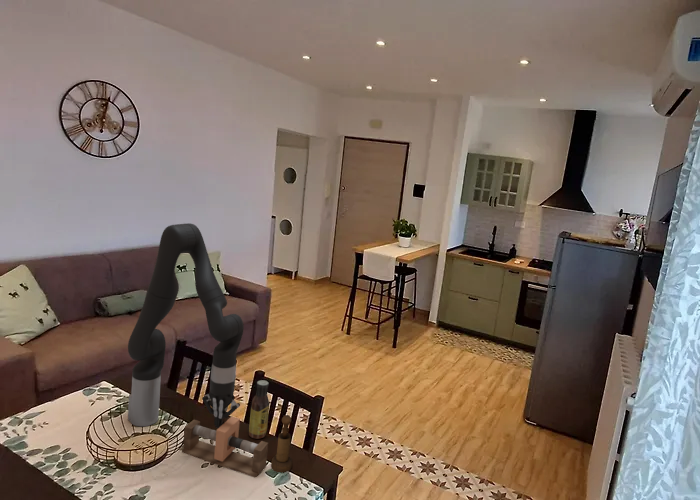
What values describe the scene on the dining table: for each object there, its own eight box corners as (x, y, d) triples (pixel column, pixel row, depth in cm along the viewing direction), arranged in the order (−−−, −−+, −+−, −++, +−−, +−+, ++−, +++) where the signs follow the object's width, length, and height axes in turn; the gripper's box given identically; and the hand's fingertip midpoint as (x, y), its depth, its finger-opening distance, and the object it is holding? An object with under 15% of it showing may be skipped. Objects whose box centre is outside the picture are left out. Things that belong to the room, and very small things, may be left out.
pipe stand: (181, 452, 156) (182, 428, 154) (194, 441, 162) (195, 417, 161) (256, 478, 148) (259, 453, 147) (267, 465, 155) (269, 441, 153)
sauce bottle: (262, 441, 167) (267, 389, 163) (245, 437, 168) (250, 385, 164) (269, 431, 173) (274, 380, 169) (252, 427, 174) (257, 377, 170)
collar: (214, 458, 151) (216, 430, 149) (229, 443, 159) (231, 416, 157) (222, 461, 150) (225, 432, 148) (237, 446, 158) (239, 418, 157)
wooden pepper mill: (274, 474, 151) (280, 423, 147) (268, 462, 156) (273, 412, 153) (294, 470, 154) (300, 420, 150) (287, 458, 160) (293, 409, 156)
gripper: (197, 376, 149) (194, 426, 152) (235, 387, 145) (230, 438, 149) (211, 367, 156) (207, 415, 159) (247, 377, 152) (243, 426, 156)
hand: (219, 426), depth 154 cm, fingers closed
